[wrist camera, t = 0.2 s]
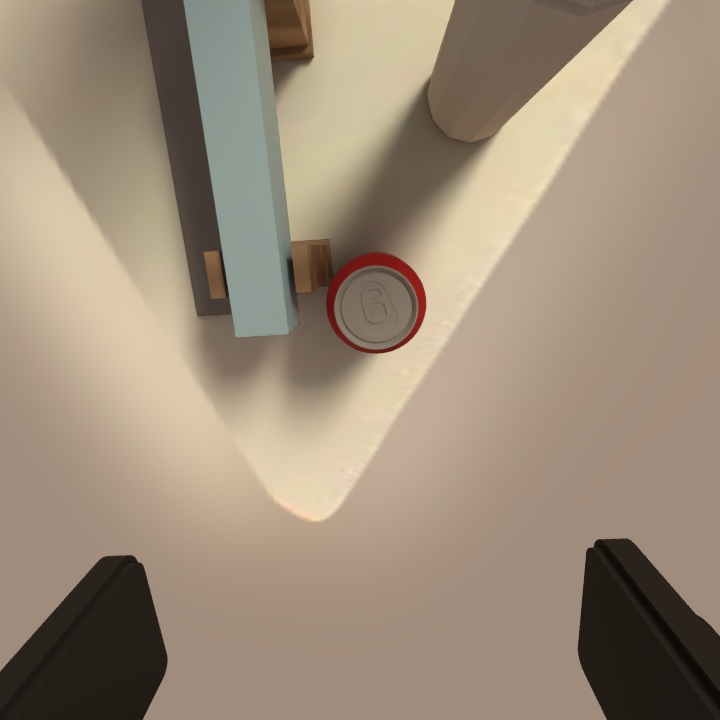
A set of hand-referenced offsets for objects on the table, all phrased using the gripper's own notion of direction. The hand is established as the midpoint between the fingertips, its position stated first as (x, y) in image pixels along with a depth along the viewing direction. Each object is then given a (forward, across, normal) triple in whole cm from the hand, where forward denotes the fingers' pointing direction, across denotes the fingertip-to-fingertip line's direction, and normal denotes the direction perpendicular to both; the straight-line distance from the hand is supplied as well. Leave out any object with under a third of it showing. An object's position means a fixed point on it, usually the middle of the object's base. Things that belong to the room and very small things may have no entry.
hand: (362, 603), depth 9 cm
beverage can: (+31, 0, -3) cm, 31 cm away
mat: (+31, +14, -15) cm, 37 cm away
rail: (+23, +7, -15) cm, 28 cm away
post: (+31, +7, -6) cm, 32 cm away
